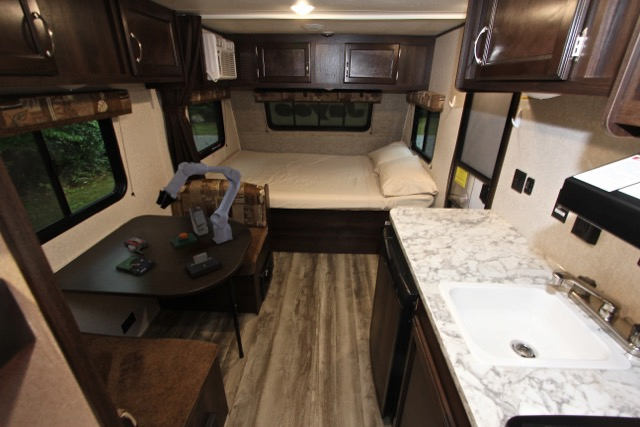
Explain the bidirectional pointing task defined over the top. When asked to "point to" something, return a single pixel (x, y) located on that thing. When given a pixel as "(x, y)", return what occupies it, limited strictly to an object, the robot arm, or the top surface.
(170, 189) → the robot arm
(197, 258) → the pale grey block
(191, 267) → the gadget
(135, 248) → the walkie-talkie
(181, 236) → the button
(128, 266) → the disk drive
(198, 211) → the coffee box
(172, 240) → the control block
